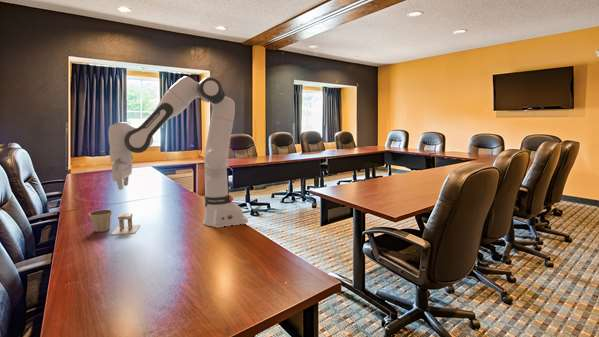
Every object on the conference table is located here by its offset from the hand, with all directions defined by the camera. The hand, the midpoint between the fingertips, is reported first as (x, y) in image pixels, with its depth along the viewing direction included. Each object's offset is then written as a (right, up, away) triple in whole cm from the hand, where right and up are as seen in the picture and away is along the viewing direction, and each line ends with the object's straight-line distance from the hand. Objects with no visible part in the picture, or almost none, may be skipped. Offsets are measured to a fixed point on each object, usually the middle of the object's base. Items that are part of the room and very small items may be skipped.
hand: (123, 187), depth 152 cm
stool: (0, -20, +3) cm, 20 cm away
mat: (0, -20, +3) cm, 21 cm away
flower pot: (-12, -21, +3) cm, 24 cm away
